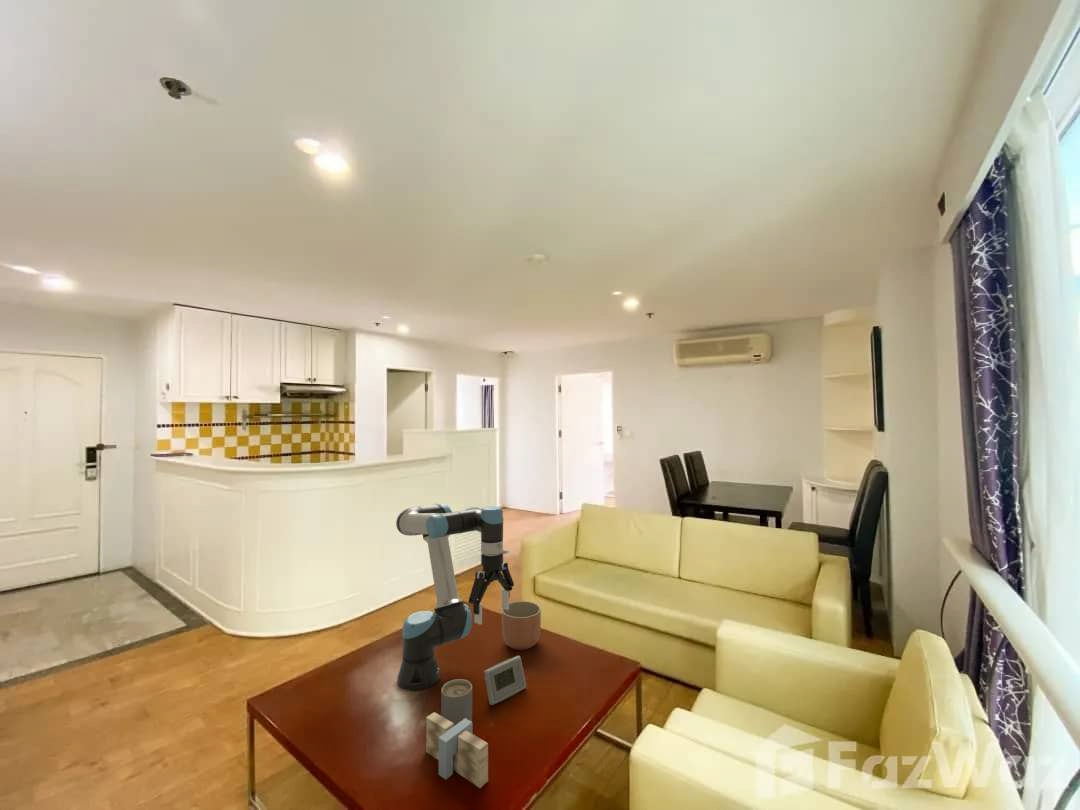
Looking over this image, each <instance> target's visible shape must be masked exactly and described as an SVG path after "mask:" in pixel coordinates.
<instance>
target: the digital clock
mask: <svg viewBox="0 0 1080 810" xmlns="http://www.w3.org/2000/svg"><path fill="white" fill-rule="evenodd" d="M483 676H484V677H483V678H484V683H485V687H486V693H487V698H488V699H487V700H488V704H489V705H490V706H494V705H496V704H498V703H501V702H503V701H505V700H507V699H508V698H511V697H512V696H515V695H517V694H519V693H520V692H521V691H523V690H524V689H526V687H527V683H526V677H525V672H524V667H523V662H522V658H521V656H520V655H516V656H513V657H512V658H508V659H506V660H503V661H502V662H498V663H497V664H495V665H492V666H491V667H490V668H487V669H485V670H484V671H483Z"/></svg>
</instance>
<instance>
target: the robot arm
mask: <svg viewBox="0 0 1080 810" xmlns="http://www.w3.org/2000/svg"><path fill="white" fill-rule="evenodd" d="M503 513H504V512H503V508H502V507H501V506H496V505H490V506H488V505H487V506H484V507H482V508H480V507H475V506H470V507H468V508H466V509H464V510H460V511H453V510H451V508H450V506H449V505H448V504H446V503H433V504H427V505H419V506H412V507H409V508H406V509H404V510H402V512H400V513H399V515H398V516H397V518H396V522H395V525H396V529H397V530H398V532H399V533H400V534H402V535H404V536H409V537H413V536H421V535H422V539H423V541H424V542H426V543H427V547H428V553H429V555H428V556H429V559H430V566H431V573H432V579H433V585H434V590H435V598H436V605H435V606H434V608H433V611H434V612H433V611H432V610H428V609H426V610H419V611H416V612H413V613H411V614H410V615H408V616H407V617H405V620H403V624H402V633H401V635H402V660H401V664H400V668H399V671H398V672H397V685H398V686H399V688H401V689H403V690H404V691H405V690H406V691H413V692H414V691H422V690H425V689H428V688H430V687H431V686H433V685H434V684H436V683H437V682H438V680H439V679H440V667H439V665H438V663H437V660H436V656H435V648H436V647H440V646H442V645H446V644H448V643H451V642H455V641H459V640H460V639H462V638H463V639H464V638H465V637H467V636H468V635H469V634H470V632H471V630H472V625H473V617H474V623H475V624H477V625H482V624H483V603H482V601H483V598H484V595H485V594H486V591H487V589H488V587H489V586H490V584H491V583H493V582H494V581H497V582H498V583H499V584H500V585H501V587H502V588H503V589H501V610H502V609H505V610H509V603H510V597H511V595H510V594H511V592H510V591H513V587H514V585H515V583H514V581H513V578H512V575H511V573H510V569H509V563H508V562H505V561H504V553H503V551H504V519H505V518H504V514H503ZM475 531H476V532H479V533H480V552H481V554H480V564H481V567H482V571H475V576H474V581H473V585H472V588H471V592H470V594H469V598H468V604H471V605H472V607H473V611H471V609H470V607H469V605H467V604H465V603H464V600H463V599H462V598H460V597H459V592H458V587H457V581H456V575H455V569H454V565H453V564H454V562H453V558H452V552H451V546H450V542H449V537H450V536H451V535H458V534H464V533H468V532H469V533H470V532H475ZM472 612H473V614H474V616H473V615H472Z"/></svg>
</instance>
